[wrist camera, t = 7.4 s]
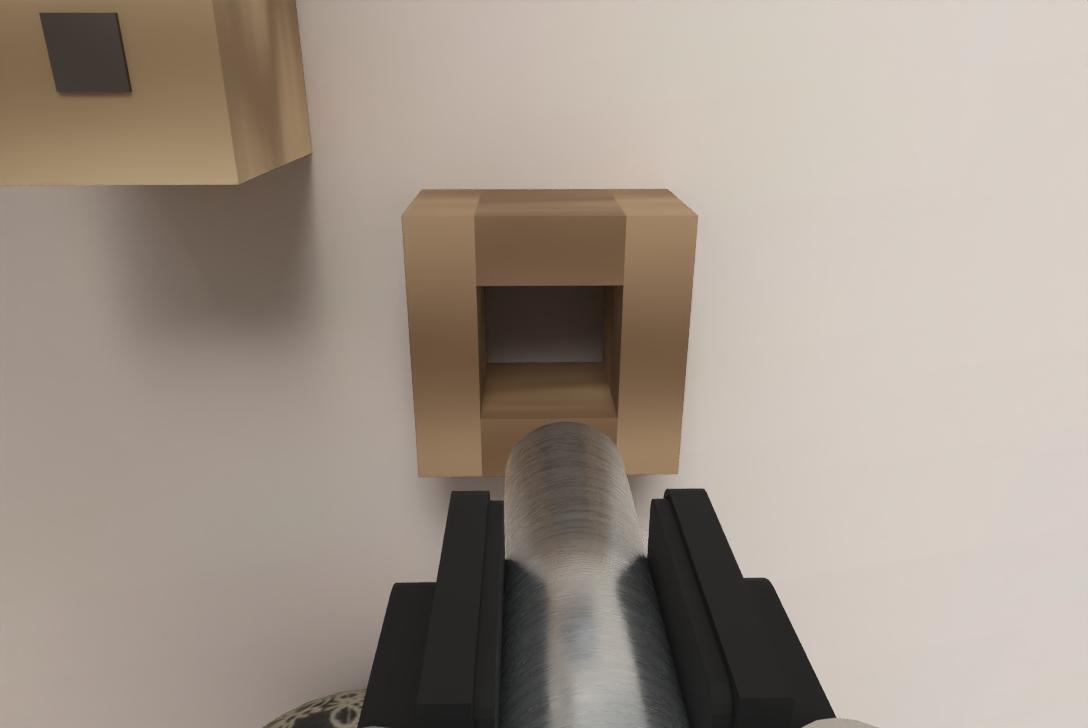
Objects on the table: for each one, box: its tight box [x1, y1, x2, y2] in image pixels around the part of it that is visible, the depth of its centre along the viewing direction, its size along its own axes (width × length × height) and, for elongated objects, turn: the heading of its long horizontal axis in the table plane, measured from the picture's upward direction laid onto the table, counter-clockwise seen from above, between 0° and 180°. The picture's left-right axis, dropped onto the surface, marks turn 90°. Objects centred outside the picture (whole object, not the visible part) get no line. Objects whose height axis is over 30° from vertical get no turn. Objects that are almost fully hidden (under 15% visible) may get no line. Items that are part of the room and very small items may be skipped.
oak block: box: [0, 0, 312, 186], centre depth 17 cm, size 5×5×6 cm
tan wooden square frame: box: [402, 189, 698, 477], centre depth 21 cm, size 7×7×4 cm
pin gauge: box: [499, 422, 690, 728], centre depth 9 cm, size 2×2×10 cm
